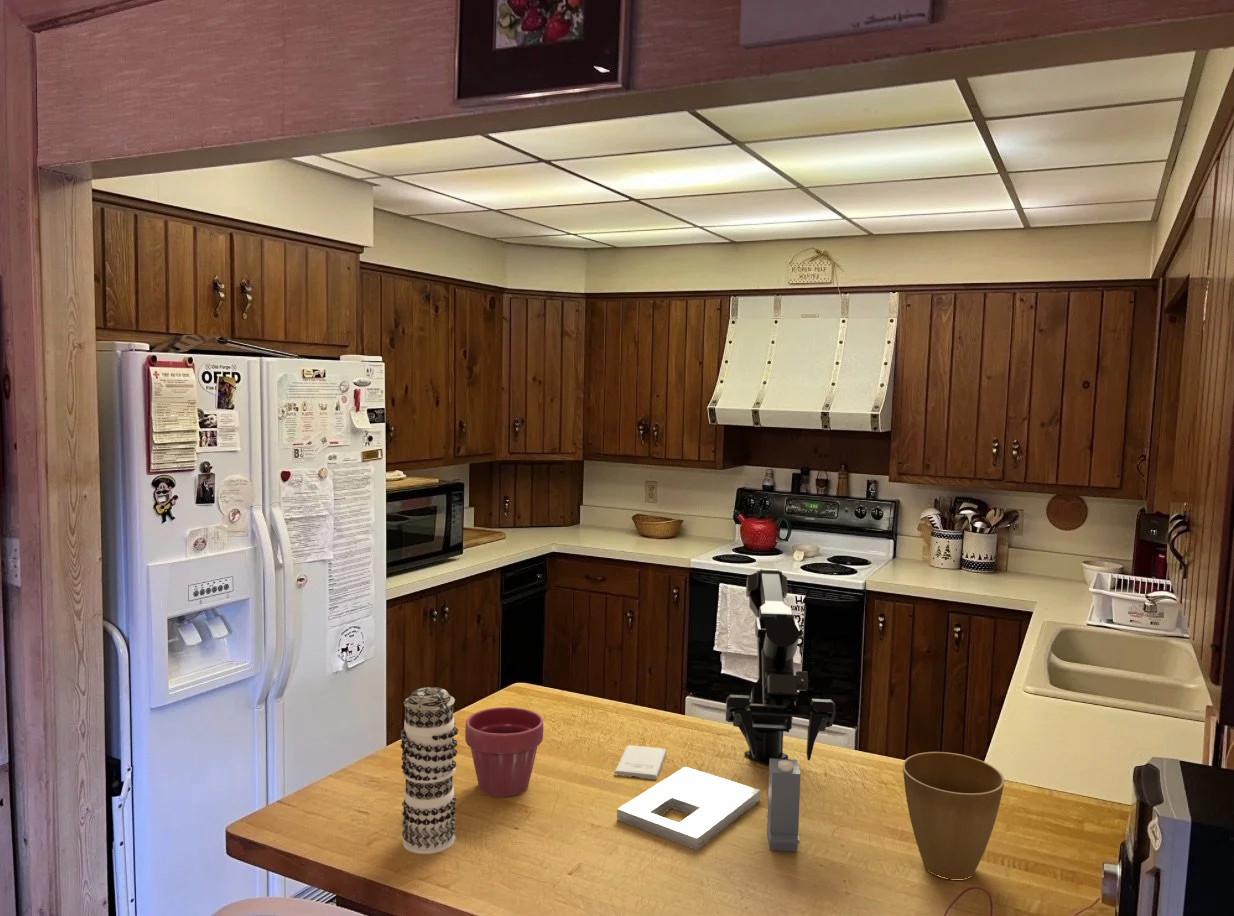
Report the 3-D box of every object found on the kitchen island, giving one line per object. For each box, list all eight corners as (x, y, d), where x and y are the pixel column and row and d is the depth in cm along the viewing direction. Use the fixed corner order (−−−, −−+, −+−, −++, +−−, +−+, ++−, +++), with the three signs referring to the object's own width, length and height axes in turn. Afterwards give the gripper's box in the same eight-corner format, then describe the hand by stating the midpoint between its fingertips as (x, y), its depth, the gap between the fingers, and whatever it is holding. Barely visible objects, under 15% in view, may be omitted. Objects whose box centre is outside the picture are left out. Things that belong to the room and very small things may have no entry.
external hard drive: (666, 756, 185) (656, 782, 173) (626, 752, 187) (614, 778, 175) (666, 748, 185) (656, 774, 173) (626, 744, 187) (614, 769, 175)
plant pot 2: (905, 836, 153) (910, 744, 152) (1001, 858, 147) (1007, 762, 145) (890, 879, 140) (895, 779, 138) (995, 906, 133) (1001, 801, 132)
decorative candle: (457, 825, 154) (458, 681, 152) (457, 853, 145) (458, 700, 143) (402, 828, 153) (402, 683, 150) (398, 857, 143) (398, 703, 141)
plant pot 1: (533, 766, 178) (533, 702, 177) (550, 798, 164) (551, 729, 163) (459, 775, 173) (459, 709, 172) (471, 808, 160) (472, 738, 159)
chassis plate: (684, 776, 175) (685, 766, 174) (759, 800, 165) (760, 790, 165) (616, 820, 157) (617, 808, 157) (696, 850, 147) (696, 838, 147)
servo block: (766, 827, 155) (768, 748, 154) (792, 829, 155) (795, 749, 154) (770, 855, 146) (773, 771, 145) (798, 857, 146) (802, 772, 145)
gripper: (728, 650, 160) (728, 735, 150) (836, 655, 158) (844, 741, 148) (725, 679, 168) (725, 762, 158) (828, 684, 167) (834, 768, 156)
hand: (781, 758), depth 155 cm, fingers open, 9 cm apart
